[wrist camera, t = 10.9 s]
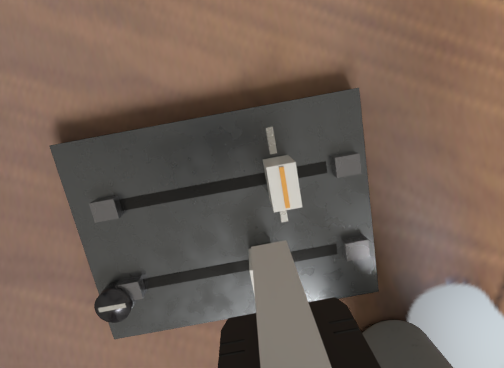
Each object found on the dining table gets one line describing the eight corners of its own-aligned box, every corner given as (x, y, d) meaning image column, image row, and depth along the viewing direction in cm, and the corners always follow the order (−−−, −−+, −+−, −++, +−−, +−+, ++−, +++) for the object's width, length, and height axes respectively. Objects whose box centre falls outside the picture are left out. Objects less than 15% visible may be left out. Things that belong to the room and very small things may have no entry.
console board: (61, 143, 31) (36, 147, 28) (351, 89, 31) (366, 86, 27) (120, 327, 36) (107, 352, 33) (371, 281, 36) (386, 301, 32)
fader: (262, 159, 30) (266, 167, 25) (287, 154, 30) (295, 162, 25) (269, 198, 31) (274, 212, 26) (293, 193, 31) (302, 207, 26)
